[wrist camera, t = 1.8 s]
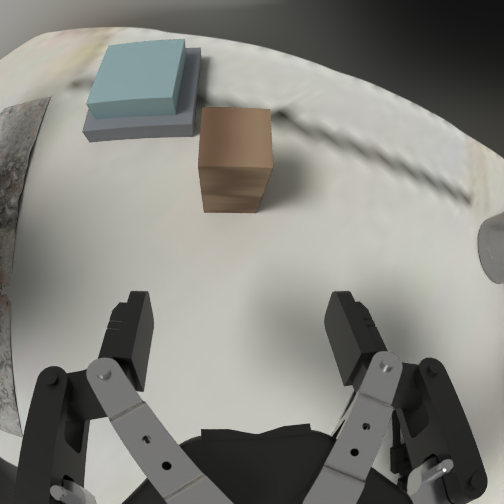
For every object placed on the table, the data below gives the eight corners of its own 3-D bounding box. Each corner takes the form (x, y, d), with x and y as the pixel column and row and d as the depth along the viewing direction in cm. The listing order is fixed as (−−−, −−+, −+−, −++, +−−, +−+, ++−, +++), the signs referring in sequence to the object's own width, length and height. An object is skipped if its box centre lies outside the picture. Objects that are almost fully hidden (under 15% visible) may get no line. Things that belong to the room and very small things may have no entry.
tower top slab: (186, 56, 31) (184, 39, 28) (175, 115, 29) (171, 97, 26) (114, 62, 30) (108, 45, 27) (95, 119, 28) (86, 103, 25)
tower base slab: (201, 63, 34) (200, 47, 31) (193, 139, 32) (191, 124, 29) (112, 70, 33) (106, 55, 30) (91, 144, 31) (82, 131, 28)
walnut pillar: (255, 166, 31) (270, 109, 22) (255, 213, 30) (273, 168, 21) (205, 165, 31) (202, 107, 21) (204, 212, 30) (197, 166, 20)
